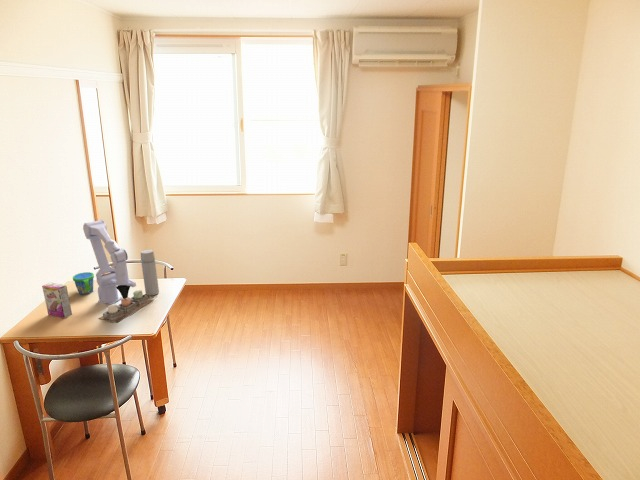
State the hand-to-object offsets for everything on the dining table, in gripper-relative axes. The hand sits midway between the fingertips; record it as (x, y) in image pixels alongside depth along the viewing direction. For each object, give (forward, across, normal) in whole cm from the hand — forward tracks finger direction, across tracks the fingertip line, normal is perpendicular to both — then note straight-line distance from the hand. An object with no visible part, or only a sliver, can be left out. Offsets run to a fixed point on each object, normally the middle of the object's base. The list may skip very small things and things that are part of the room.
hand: (125, 297), depth 231 cm
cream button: (+4, 0, -9) cm, 10 cm away
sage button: (+4, 0, +9) cm, 10 cm away
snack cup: (+7, -38, +10) cm, 40 cm away
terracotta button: (+4, 0, 0) cm, 4 cm away
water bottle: (+7, -2, +21) cm, 22 cm away
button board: (+7, 0, 0) cm, 7 cm away
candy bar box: (+7, -28, -16) cm, 33 cm away
